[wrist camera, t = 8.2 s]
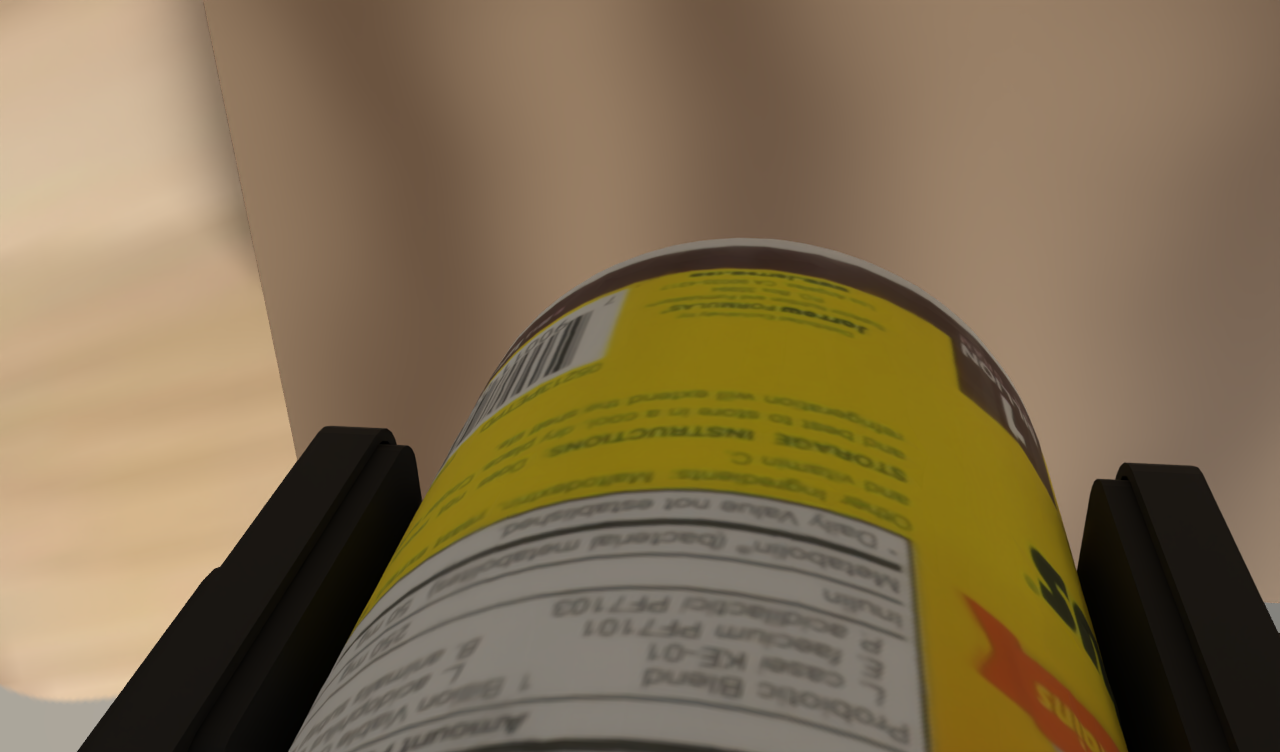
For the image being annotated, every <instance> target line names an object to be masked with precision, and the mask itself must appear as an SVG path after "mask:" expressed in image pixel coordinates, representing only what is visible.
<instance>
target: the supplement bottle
mask: <svg viewBox="0 0 1280 752" xmlns="http://www.w3.org/2000/svg"><path fill="white" fill-rule="evenodd" d="M288 752H1129V751H1128V748H1127V744H1126V741H1125V737H1124V733H1123V730H1122V725H1121V720H1120V715H1119V710H1118V706H1117V703H1116V700H1115V697H1114V694H1113V691H1112V688H1111V686H1110V683H1109V680H1108V677H1107V674H1106V671H1105V667H1104V664H1103V660H1102V657H1101V653H1100V650H1099V646H1098V643H1097V639H1096V636H1095V632H1094V629H1093V625H1092V622H1091V618H1090V615H1089V612H1088V608H1087V605H1086V602H1085V599H1084V595H1083V592H1082V589H1081V585H1080V581H1079V578H1078V574H1077V571H1076V567H1075V563H1074V560H1073V556H1072V552H1071V549H1070V545H1069V542H1068V538H1067V535H1066V531H1065V528H1064V524H1063V521H1062V517H1061V514H1060V511H1059V507H1058V504H1057V500H1056V497H1055V493H1054V489H1053V486H1052V482H1051V479H1050V475H1049V472H1048V468H1047V465H1046V462H1045V459H1044V456H1043V453H1042V451H1041V447H1040V443H1039V440H1038V438H1037V435H1036V433H1035V430H1034V427H1033V425H1032V422H1031V420H1030V418H1029V415H1028V413H1027V410H1026V408H1025V406H1024V403H1023V401H1022V399H1021V398H1020V396H1019V394H1018V392H1017V390H1016V389H1015V387H1014V385H1013V383H1012V381H1011V380H1010V378H1009V376H1008V375H1007V374H1006V372H1005V371H1004V369H1003V368H1002V366H1001V365H1000V364H999V363H998V361H997V360H996V359H995V357H994V356H993V355H992V354H991V352H990V351H989V350H988V348H987V347H986V346H985V345H984V343H983V342H982V341H981V340H980V339H979V338H978V336H977V335H976V334H975V333H974V332H973V331H972V329H971V328H970V327H969V326H968V325H967V324H965V323H964V322H963V321H962V320H961V319H960V318H959V317H958V316H957V315H955V314H954V313H953V312H952V311H951V310H949V309H948V308H947V307H946V306H945V305H943V304H942V303H941V302H940V301H938V300H937V299H935V298H934V297H932V296H931V295H929V294H928V293H926V292H925V291H924V290H922V289H921V288H919V287H918V286H916V285H914V284H912V283H910V282H908V281H907V280H905V279H903V278H901V277H899V276H897V275H895V274H893V273H891V272H889V271H887V270H885V269H883V268H880V267H878V266H876V265H874V264H872V263H869V262H867V261H864V260H861V259H858V258H856V257H853V256H850V255H847V254H844V253H841V252H838V251H835V250H830V249H826V248H822V247H817V246H813V245H809V244H804V243H798V242H792V241H785V240H777V239H757V238H729V239H715V240H704V241H697V242H691V243H685V244H679V245H674V246H669V247H666V248H662V249H659V250H655V251H652V252H648V253H645V254H642V255H639V256H637V257H634V258H632V259H629V260H627V261H624V262H621V263H619V264H616V265H614V266H612V267H610V268H607V269H605V270H603V271H601V272H599V273H597V274H595V275H594V276H592V277H590V278H589V279H587V280H586V281H584V282H582V283H581V284H579V285H578V286H576V287H574V288H573V289H571V290H570V291H569V292H567V293H566V294H564V295H563V296H561V297H560V298H559V299H557V300H556V301H555V302H554V303H553V304H551V305H550V306H549V307H548V308H547V309H545V310H544V311H543V312H542V313H541V314H540V315H539V316H538V317H537V318H536V319H535V320H534V321H533V322H532V323H531V324H530V325H529V326H528V327H527V328H526V329H525V330H524V331H523V332H522V333H521V334H520V335H519V337H518V338H517V339H516V341H515V342H514V343H513V344H512V346H511V347H510V349H509V350H508V352H507V353H506V355H505V356H504V358H503V359H502V361H501V362H500V364H499V365H498V367H497V368H496V370H495V371H494V373H493V374H492V376H491V378H490V380H489V381H488V383H487V385H486V386H485V388H484V390H483V391H482V393H481V395H480V396H479V398H478V400H477V402H476V404H475V406H474V408H473V410H472V412H471V414H470V416H469V418H468V419H467V421H466V423H465V425H464V426H463V428H462V430H461V431H460V433H459V434H458V436H457V438H456V439H455V441H454V443H453V445H452V446H451V448H450V450H449V453H448V455H447V457H446V459H445V461H444V463H443V464H442V466H441V468H440V470H439V471H438V473H437V475H436V477H435V479H434V480H433V482H432V484H431V486H430V488H429V490H428V492H427V494H426V496H425V498H424V499H423V501H422V503H421V505H420V507H419V508H418V510H417V512H416V514H415V516H414V517H413V519H412V521H411V523H410V525H409V527H408V528H407V530H406V532H405V534H404V536H403V538H402V540H401V542H400V544H399V545H398V547H397V549H396V551H395V553H394V555H393V557H392V559H391V561H390V562H389V564H388V566H387V568H386V570H385V572H384V574H383V576H382V577H381V579H380V581H379V583H378V585H377V587H376V589H375V591H374V593H373V594H372V596H371V598H370V600H369V602H368V603H367V605H366V607H365V609H364V611H363V612H362V614H361V616H360V618H359V620H358V621H357V623H356V625H355V627H354V629H353V631H352V633H351V635H350V637H349V639H348V640H347V642H346V644H345V646H344V648H343V650H342V652H341V654H340V655H339V657H338V659H337V661H336V663H335V665H334V667H333V669H332V671H331V673H330V675H329V677H328V678H327V680H326V682H325V683H324V685H323V687H322V688H321V690H320V692H319V694H318V696H317V698H316V700H315V702H314V704H313V706H312V708H311V709H310V711H309V713H308V715H307V717H306V719H305V721H304V723H303V725H302V727H301V729H300V731H299V733H298V735H297V736H296V738H295V740H294V742H293V744H292V746H291V748H290V749H289V751H288Z"/></svg>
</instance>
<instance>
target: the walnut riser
mask: <svg viewBox="0 0 1280 752" xmlns="http://www.w3.org/2000/svg"><path fill="white" fill-rule="evenodd" d="M203 3H204V8H205V12H206V17H207V22H208V27H209V32H210V37H211V42H212V47H213V51H214V56H215V61H216V66H217V71H218V76H219V81H220V86H221V90H222V95H223V100H224V105H225V110H226V115H227V120H228V125H229V129H230V134H231V139H232V144H233V149H234V154H235V159H236V164H237V168H238V173H239V178H240V183H241V188H242V193H243V198H244V203H245V207H246V212H247V217H248V222H249V227H250V232H251V237H252V242H253V246H254V251H255V256H256V261H257V266H258V271H259V276H260V280H261V285H262V290H263V295H264V300H265V305H266V310H267V315H268V319H269V324H270V329H271V334H272V339H273V344H274V349H275V354H276V358H277V363H278V368H279V373H280V378H281V383H282V388H283V393H284V397H285V402H286V407H287V412H288V417H289V422H290V427H291V432H292V436H293V441H294V446H295V451H296V456H297V461H298V459H299V458H300V456H301V455H302V454H303V452H304V451H305V450H306V448H307V447H308V445H309V444H310V443H311V441H312V440H313V439H314V437H315V436H316V434H317V433H318V432H319V431H320V430H321V429H322V428H323V427H325V426H348V427H369V428H387V429H388V430H390V431H391V432H392V433H393V435H394V437H395V439H396V443H397V445H408V446H410V447H411V448H412V449H413V452H414V454H415V458H416V462H417V469H418V476H419V482H420V489H421V496H422V501H423V499H424V498H425V496H426V494H427V492H428V490H429V488H430V486H431V484H432V482H433V480H434V479H435V477H436V475H437V473H438V471H439V470H440V468H441V466H442V464H443V463H444V461H445V459H446V457H447V455H448V453H449V450H450V448H451V446H452V445H453V443H454V441H455V439H456V438H457V436H458V434H459V433H460V431H461V430H462V428H463V426H464V425H465V423H466V421H467V419H468V418H469V416H470V414H471V412H472V410H473V408H474V406H475V404H476V402H477V400H478V398H479V396H480V395H481V393H482V391H483V390H484V388H485V386H486V385H487V383H488V381H489V380H490V378H491V376H492V374H493V373H494V371H495V370H496V368H497V367H498V365H499V364H500V362H501V361H502V359H503V358H504V356H505V355H506V353H507V352H508V350H509V349H510V347H511V346H512V344H513V343H514V342H515V341H516V339H517V338H518V337H519V335H520V334H521V333H522V332H523V331H524V330H525V329H526V328H527V327H528V326H529V325H530V324H531V323H532V322H533V321H534V320H535V319H536V318H537V317H538V316H539V315H540V314H541V313H542V312H543V311H544V310H545V309H547V308H548V307H549V306H550V305H551V304H553V303H554V302H555V301H556V300H557V299H559V298H560V297H561V296H563V295H564V294H566V293H567V292H569V291H570V290H571V289H573V288H574V287H576V286H578V285H579V284H581V283H582V282H584V281H586V280H587V279H589V278H590V277H592V276H594V275H595V274H597V273H599V272H601V271H603V270H605V269H607V268H610V267H612V266H614V265H616V264H619V263H621V262H624V261H627V260H629V259H632V258H634V257H637V256H639V255H642V254H645V253H648V252H652V251H655V250H659V249H662V248H666V247H669V246H674V245H679V244H685V243H691V242H697V241H704V240H715V239H729V238H757V239H777V240H785V241H792V242H798V243H804V244H809V245H813V246H817V247H822V248H826V249H830V250H835V251H838V252H841V253H844V254H847V255H850V256H853V257H856V258H858V259H861V260H864V261H867V262H869V263H872V264H874V265H876V266H878V267H880V268H883V269H885V270H887V271H889V272H891V273H893V274H895V275H897V276H899V277H901V278H903V279H905V280H907V281H908V282H910V283H912V284H914V285H916V286H918V287H919V288H921V289H922V290H924V291H925V292H926V293H928V294H929V295H931V296H932V297H934V298H935V299H937V300H938V301H940V302H941V303H942V304H943V305H945V306H946V307H947V308H948V309H949V310H951V311H952V312H953V313H954V314H955V315H957V316H958V317H959V318H960V319H961V320H962V321H963V322H964V323H965V324H967V325H968V326H969V327H970V328H971V329H972V331H973V332H974V333H975V334H976V335H977V336H978V338H979V339H980V340H981V341H982V342H983V343H984V345H985V346H986V347H987V348H988V350H989V351H990V352H991V354H992V355H993V356H994V357H995V359H996V360H997V361H998V363H999V364H1000V365H1001V366H1002V368H1003V369H1004V371H1005V372H1006V374H1007V375H1008V376H1009V378H1010V380H1011V381H1012V383H1013V385H1014V387H1015V389H1016V390H1017V392H1018V394H1019V396H1020V398H1021V399H1022V401H1023V403H1024V406H1025V408H1026V410H1027V413H1028V415H1029V418H1030V420H1031V422H1032V425H1033V427H1034V430H1035V433H1036V435H1037V438H1038V440H1039V443H1040V447H1041V451H1042V453H1043V456H1044V459H1045V462H1046V465H1047V468H1048V472H1049V475H1050V479H1051V482H1052V486H1053V489H1054V493H1055V497H1056V500H1057V504H1058V507H1059V511H1060V514H1061V517H1062V521H1063V524H1064V528H1065V531H1066V535H1067V538H1068V542H1069V545H1070V549H1071V552H1072V556H1073V560H1074V563H1075V567H1076V571H1077V566H1078V561H1079V555H1080V549H1081V543H1082V537H1083V532H1084V526H1085V520H1086V514H1087V508H1088V503H1089V497H1090V492H1091V488H1092V485H1093V483H1094V481H1095V480H1096V479H1114V480H1115V478H1116V474H1117V472H1118V470H1119V467H1120V466H1121V465H1122V464H1123V463H1124V462H1126V463H1147V464H1169V465H1190V466H1196V467H1198V468H1199V469H1200V470H1201V472H1202V473H1203V475H1204V477H1205V479H1206V481H1207V483H1208V486H1209V488H1210V490H1211V492H1212V494H1213V496H1214V498H1215V500H1216V502H1217V505H1218V507H1219V509H1220V511H1221V513H1222V515H1223V517H1224V519H1225V521H1226V524H1227V526H1228V528H1229V530H1230V532H1231V534H1232V536H1233V538H1234V540H1235V543H1236V545H1237V547H1238V549H1239V551H1240V553H1241V555H1242V557H1243V559H1244V562H1245V564H1246V566H1247V568H1248V570H1249V572H1250V574H1251V576H1252V578H1253V581H1254V583H1255V585H1256V587H1257V589H1258V591H1259V593H1260V595H1261V598H1262V600H1263V602H1270V603H1280V0H203Z"/></svg>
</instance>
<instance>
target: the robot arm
mask: <svg viewBox="0 0 1280 752" xmlns="http://www.w3.org/2000/svg"><path fill="white" fill-rule="evenodd" d="M421 503H422V496H421V489H420V482H419V476H418V469H417V462H416V458H415V454H414V452H413V449H412V448H411V447H410V446H408V445H397V443H396V439H395V437H394V435H393V433H392V432H391V431H390V430H388V429H387V428H369V427H348V426H325V427H323V428H322V429H321V430H320V431H319V432H318V433H317V434H316V436H315V437H314V439H313V440H312V441H311V443H310V444H309V445H308V447H307V448H306V450H305V451H304V452H303V454H302V455H301V456H300V458H299V459H298V461H297V462H296V463H295V465H294V466H293V468H292V469H291V470H290V472H289V473H288V474H287V476H286V477H285V479H284V480H283V481H282V483H281V484H280V485H279V487H278V488H277V490H276V491H275V492H274V494H273V495H272V496H271V498H270V499H269V501H268V502H267V503H266V505H265V506H264V507H263V509H262V510H261V512H260V513H259V514H258V516H257V517H256V518H255V520H254V521H253V523H252V524H251V525H250V527H249V528H248V529H247V531H246V532H245V534H244V535H243V536H242V538H241V539H240V540H239V542H238V543H237V545H236V546H235V547H234V549H233V550H232V551H231V553H230V554H229V556H228V557H227V558H226V560H225V561H224V562H223V564H222V565H221V567H218V568H215V569H214V570H213V571H212V572H211V573H210V574H209V575H208V576H207V577H206V578H205V579H204V580H203V581H202V582H201V584H200V585H199V587H198V588H197V589H196V591H195V592H194V593H193V595H192V596H191V597H190V599H189V600H188V601H187V603H186V604H185V606H184V607H183V608H182V610H181V611H180V612H179V614H178V615H177V616H176V618H175V619H174V621H173V622H172V623H171V625H170V626H169V627H168V629H167V630H166V631H165V633H164V634H163V635H162V637H161V638H160V640H159V641H158V642H157V644H156V645H155V646H154V648H153V649H152V650H151V652H150V653H149V655H148V656H147V657H146V659H145V660H144V661H143V663H142V664H141V665H140V667H139V668H138V669H137V671H136V672H135V674H134V675H133V676H132V678H131V679H130V680H129V682H128V683H127V684H126V686H125V687H124V689H123V690H122V691H121V693H120V694H119V695H118V697H117V698H116V699H115V701H114V702H113V703H112V705H111V706H110V708H109V709H108V710H107V712H106V713H105V715H104V716H103V717H102V718H101V720H100V721H99V723H98V724H97V725H96V727H95V728H94V729H93V731H92V732H91V733H90V735H89V736H88V737H87V739H86V740H85V742H84V743H83V744H82V746H81V747H80V749H79V750H78V751H77V752H288V751H289V749H290V748H291V746H292V744H293V742H294V740H295V738H296V736H297V735H298V733H299V731H300V729H301V727H302V725H303V723H304V721H305V719H306V717H307V715H308V713H309V711H310V709H311V708H312V706H313V704H314V702H315V700H316V698H317V696H318V694H319V692H320V690H321V688H322V687H323V685H324V683H325V682H326V680H327V678H328V677H329V675H330V673H331V671H332V669H333V667H334V665H335V663H336V661H337V659H338V657H339V655H340V654H341V652H342V650H343V648H344V646H345V644H346V642H347V640H348V639H349V637H350V635H351V633H352V631H353V629H354V627H355V625H356V623H357V621H358V620H359V618H360V616H361V614H362V612H363V611H364V609H365V607H366V605H367V603H368V602H369V600H370V598H371V596H372V594H373V593H374V591H375V589H376V587H377V585H378V583H379V581H380V579H381V577H382V576H383V574H384V572H385V570H386V568H387V566H388V564H389V562H390V561H391V559H392V557H393V555H394V553H395V551H396V549H397V547H398V545H399V544H400V542H401V540H402V538H403V536H404V534H405V532H406V530H407V528H408V527H409V525H410V523H411V521H412V519H413V517H414V516H415V514H416V512H417V510H418V508H419V507H420V505H421ZM1077 574H1078V578H1079V581H1080V585H1081V589H1082V592H1083V595H1084V599H1085V602H1086V605H1087V608H1088V612H1089V615H1090V618H1091V622H1092V625H1093V629H1094V632H1095V636H1096V639H1097V643H1098V646H1099V650H1100V653H1101V657H1102V660H1103V664H1104V667H1105V671H1106V674H1107V677H1108V680H1109V683H1110V686H1111V688H1112V691H1113V694H1114V697H1115V700H1116V703H1117V706H1118V710H1119V715H1120V720H1121V725H1122V730H1123V733H1124V737H1125V741H1126V744H1127V748H1128V751H1129V752H1280V633H1278V631H1277V629H1276V627H1275V625H1274V623H1273V621H1272V619H1271V617H1270V614H1269V613H1268V610H1267V609H1266V606H1265V604H1264V602H1263V600H1262V598H1261V595H1260V593H1259V591H1258V589H1257V587H1256V585H1255V583H1254V581H1253V578H1252V576H1251V574H1250V572H1249V570H1248V568H1247V566H1246V564H1245V562H1244V559H1243V557H1242V555H1241V553H1240V551H1239V549H1238V547H1237V545H1236V543H1235V540H1234V538H1233V536H1232V534H1231V532H1230V530H1229V528H1228V526H1227V524H1226V521H1225V519H1224V517H1223V515H1222V513H1221V511H1220V509H1219V507H1218V505H1217V502H1216V500H1215V498H1214V496H1213V494H1212V492H1211V490H1210V488H1209V486H1208V483H1207V481H1206V479H1205V477H1204V475H1203V473H1202V472H1201V470H1200V469H1199V468H1198V467H1196V466H1190V465H1169V464H1147V463H1126V462H1124V463H1123V464H1122V465H1121V466H1120V467H1119V470H1118V472H1117V474H1116V478H1115V480H1114V479H1096V480H1095V481H1094V483H1093V485H1092V488H1091V492H1090V497H1089V503H1088V508H1087V514H1086V520H1085V526H1084V532H1083V537H1082V543H1081V549H1080V555H1079V561H1078V566H1077Z"/></svg>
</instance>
